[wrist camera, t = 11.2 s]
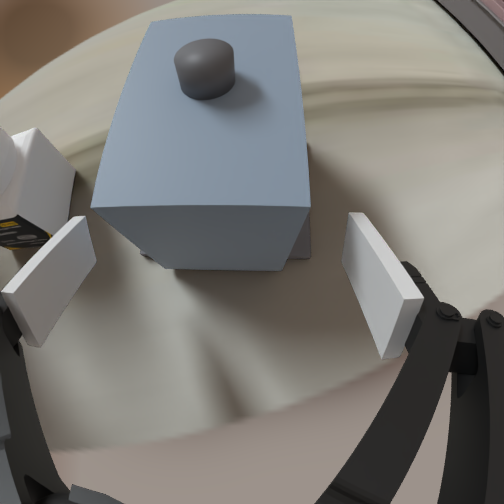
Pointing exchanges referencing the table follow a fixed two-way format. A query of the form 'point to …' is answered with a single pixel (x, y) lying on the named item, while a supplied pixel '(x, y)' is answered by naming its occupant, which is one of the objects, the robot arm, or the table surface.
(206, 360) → the table surface
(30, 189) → the medicine bottle
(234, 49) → the cover
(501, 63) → the organizer tray
